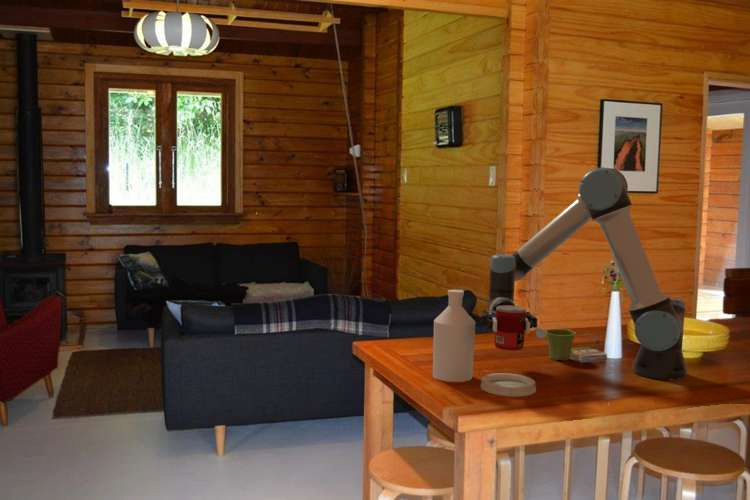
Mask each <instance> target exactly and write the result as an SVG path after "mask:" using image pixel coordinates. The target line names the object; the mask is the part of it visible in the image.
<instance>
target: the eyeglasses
mask: <svg viewBox="0 0 750 500" xmlns="http://www.w3.org/2000/svg"><path fill="white" fill-rule="evenodd" d="M555 327H556V328H559V327H560V328H563V329H565V330H569V331H572V329H571V330H570V329H569V328H568V327H566V326H560V325H555V326H554V328H555ZM533 328H534V327H533ZM547 328H549V326H547V327H544V328H542V327H536V328H534V330H535V331H534V332H535V335H536V337H537V338H538V339H541V340H542V339H543V340H545V339H546V338H547V334H546V330H545V329H547ZM581 336H583V334H582V335H578V337H581ZM584 336H591V337H593V338H594V339H595V341H596V342H599V341H598V340H599V339H598V338H597V337H596V336H595V335H593V334H590V333H589V334H588V333H586V334H584Z"/></svg>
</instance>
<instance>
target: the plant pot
mask: <svg viewBox="0 0 750 500" xmlns="http://www.w3.org/2000/svg"><path fill="white" fill-rule="evenodd" d="M569 330H570V329H569ZM569 330H567V329H562V328H561V329H560V328H558V329H557V328H556V329H555V328H553V329H552V328H551V329H547V330H545V331H546V334H547V335H546V338H547V342H548V353H549V359H550V360H553V361H562V362H564V361H569V360H570V357H571V352H572V351H571V350H572V347H573V343H574V338H575V337H576V336H577V335H576V334H577V333H576V331H574V330H571V331H569Z"/></svg>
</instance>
